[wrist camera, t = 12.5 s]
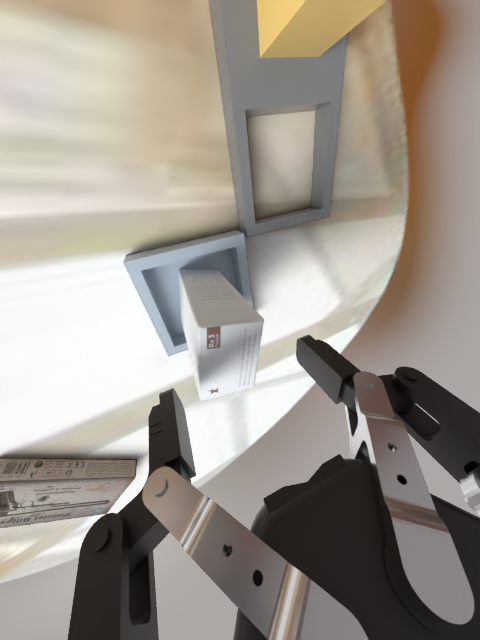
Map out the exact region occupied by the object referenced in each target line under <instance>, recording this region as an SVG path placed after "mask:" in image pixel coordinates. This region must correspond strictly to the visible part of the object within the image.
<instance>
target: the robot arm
mask: <svg viewBox="0 0 480 640" xmlns="http://www.w3.org/2000/svg"><path fill="white" fill-rule="evenodd" d="M296 357H297V360H298V362H299V364H300V365H301V366H302V367H303V368H304V369H305V370H306V371H307V373H308V374H309V375H310V376H311V377H312V378H313V379H314V380H315V381H316V383H317V384H318V385H319V386H320V387H321V388H322V389H323V390H324V391H325V393H326V394H327V395H328V396H329V397H330V398H331V399H332V400H333V401H334V402H335V403H336V404H338V403H340V402H342V401H343V403H344V404H345V410H346V417H347V424H348V431H349V437H350V448H349V449H350V450H349V453H350V459H343V458H342V456H341V455H340V454H339V455H337V456H335V457H334V458H332V459H330V460H329V461H327V462H325V463H323V464H322V465H321V466H320V468H319V469H318V470H317V471H316V472H315V474H314V475H313V476H312V477H311V478H310V480H309V481H308V482H305V483H300V484H296V485H291V486H285V487H282V488H281V489H279V490H277V491H276V492H274V493H272V494H271V495H269V496H267V497H265V498H264V506H263V507H262V508H261V509H260V511H259V512H258V514H257V515H256V517H255V519H254V521H253V524H252V527H251V530H248V529H247V528H246V527H245V526H243V525H242V524H241V523H240V522H238V521H237V520H236V519H235V518H233V517H232V516H231V515H230V514H229V513H227V512H226V511H225V510H224V509H223V508H221V507H220V506H219V505H218V504H217V503H215V502H214V501H213V500H211V499H210V498H208V497H206V496H205V495H203V494H202V493H201V492H200V491H199V490H197V489H196V488H195V487H194V486H193V485H191V480H190V478H192V477H194V476H196V473H195V467H194V461H193V456H192V450H191V444H190V439H189V433H188V427H187V422H186V416H185V411H184V408H183V405H182V403H181V401H180V399H179V397H178V395H177V393H176V391H175V390H174V388H172V389H170V390H167V391H165V392H162V393H160V395H159V398H160V404H159V405H157V406H154V407H152V410H151V413H150V415H149V474H148V478H147V481H146V483H145V485H144V487H143V489H142V490H141V491H140V493H139V494H138V495H137V496H136V497H135V498H134V499H133V500H132V501H131V502H130V503H128V504H127V505H126V506H125V507H124V508H123V509H122V510H121V511H120V512H119V513H117V514H116V513H109V514H106V515H104V516H103V517H101V518H100V519H99V520H97V521H96V522H95V523H94V524H93V526H92V527H91V528H90V530H89V531H88V533H87V535H86V536H85V538H84V541H83V543H82V546H81V550H80V556H79V563H78V571H77V578H76V585H75V592H74V599H73V606H72V614H71V620H70V628H69V634H68V640H159V638H158V623H157V607H156V592H155V576H154V561H153V549H154V548H155V547H156V546H157V545H158V544H159V543H160V542H161V541H162V540H163V539H164V538H165V537H166V535H167V534H168V533H169V532H170V533H171V534H172V535H173V536H174V537H175V538H176V539H177V540H178V541H179V542H180V544H181V545H182V547H183V549H184V550H185V551H186V552H187V553H188V555H189V556H190V557H191V558H192V559H193V560H194V561H195V562H196V563H197V564H198V565H199V566H200V568H201V569H202V570H203V571H204V572H205V573H206V574H207V575H208V576H209V577H210V578H211V579H212V580H213V581H214V583H216V585H217V586H218V587H219V588H220V589H221V590H222V591H223V592H224V593H225V594H226V595H227V596H228V597H229V599H230V600H231V601H232V602H233V603H234V604H235V605H236V606H237V607H238V612H237V619H236V625H235V632H234V639H233V640H480V518H479V517H477V516H475V515H473V514H471V513H469V512H467V511H465V510H463V509H461V508H458V507H457V506H454V505H453V504H451V503H449V502H447V501H444V500H442V499H440V498H438V497H436V496H434V495H432V494H430V493H429V490H428V487H427V485H426V482H425V480H424V476H423V474H422V471H421V468H420V466H419V463H418V460H417V458H416V455H415V452H414V449H413V447H412V444H411V441H410V439H409V436H408V433H409V434H410V435H411V436H412V437H413V438H414V439H415V440H416V441H417V442H418V443H419V444H420V445H421V446H422V447H423V448H424V449H425V450H426V451H427V452H428V453H429V454H430V455H431V456H432V457H433V458H434V459H435V460H436V461H437V462H438V463H440V464H441V465H442V466H443V467H444V468H445V469H446V470H447V471H448V472H449V473H450V474H451V475H452V476H453V477H454V478H455V479H456V480H457V481H458V482H459V483H460V486H461V490H462V492H463V494H464V499H465V501H466V503H467V504H468V505H469V506H470V507H471V508H472V509H474V510H476V511H477V513H478V514H479V516H480V413H479V412H477V411H476V410H475V409H473V408H472V407H470V406H469V405H467V404H466V403H464V402H463V401H462V400H460V399H459V398H457V397H456V396H454V395H453V394H451V393H450V392H449V391H447V390H446V389H444V388H443V387H442V386H440V385H439V384H437V383H436V382H434V381H433V380H432V379H430V378H429V377H427V376H426V375H424V374H423V373H422V372H420V371H418V370H416V369H414V368H410V367H399V368H397V369H396V371H395V373H394V374H392V375H382V376H377V375H375V374H373V373H370V372H366V371H360V370H359V369H357V368H356V367H355V366H354V365H353V364H351V363H350V362H349V361H348V360H347V359H345V358H344V357H343V356H342V355H341V354H339V353H338V352H337V351H336V350H335V349H333V348H332V347H331V346H330V345H329V344H327V343H326V342H323V341H321V340H315V339H314V338H312V337H311V336H310V335H306V336H304V337H301V338H299V339H297V350H296ZM416 403H417V404H418V405H419V406H420V407H421V408H423V409H424V410H425V411H426V412H427V413H429V414H430V415H431V416H432V417H434V418H435V419H436V420H437V421H438V423H439V424H440V425H439V424H438V423H437V422H436V421H434V420H433V419H432V418H431V417H430V416H429V415H427V414H426V413H425V412H424V411H423V410H422V409H420V408H419V407H418V406H417V405H416ZM407 432H408V433H407Z"/></svg>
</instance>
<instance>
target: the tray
mask: <svg viewBox="0 0 480 640" xmlns="http://www.w3.org/2000/svg"><path fill="white" fill-rule="evenodd" d="M123 263H124V265H125V267H126V269H127V271H128V273H129V275H130V277H131V279H132V281H133V284H134V286H135V288H136V290H137V292H138V294H139V296H140V298H141V300H142V302H143V304H144V306H145V308H146V311H147V313H148V315H149V317H150V319H151V321H152V323H153V325H154V327H155V329H156V331H157V333H158V336H159V338H160V340H161V342H162V344H163V346H164V348H165V350H166V352H167V354H168V356H171V355H174V354H177V353H180V352H182V351H185V350H188V346H187V342H186V337H185V333H184V329H183V324H182V320H181V306H180V291H179V274H178V271H179V270H180V269H217V270H218V271H219V272H220V273H221V274H222V275H223V276H224V277H225V278H226V279H227V280H228V281H229V283H230V284H231V285H232V286H233V287H234V288H235V289H236V290H237V291H238V292H239V293H240V294H241V295H242V296H243V297H244V299H245V300H246V301H247V302H248V303H249V304H250V305H251V306H252V307H253V301H252V293H251V285H250V277H249V269H248V261H247V253H246V244H245V236H244V233H241V232H239V231H236V230H234V231H230V232H225V233H221V234H217V235H212V236H208V237H204V238H200V239H195V240H191V241H187V242H182V243H178V244H174V245H169V246H165V247H161V248H157V249H152V250H148V251H144V252H139V253H135V254H131V255H127V256H126V257H125V260H124V262H123Z"/></svg>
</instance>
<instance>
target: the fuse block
mask: <svg viewBox="0 0 480 640" xmlns="http://www.w3.org/2000/svg"><path fill="white" fill-rule="evenodd" d="M386 1H387V0H209V6H210V13H211V21H212V28H213V35H214V43H215V50H216V58H217V65H218V73H219V80H220V88H221V95H222V102H223V110H224V117H225V125H226V132H227V140H228V147H229V155H230V162H231V169H232V177H233V184H234V192H235V199H236V207H237V214H238V221H239V229H240V232H241V233H244V236H246V237H250V236H254V235H258V234H262V233H266V232H270V231H274V230H278V229H282V228H286V227H291V226H295V225H299V224H303V223H307V222H311V221H315V220H319V219H323V218H327V217H330V207H331V197H332V187H333V177H334V167H335V157H336V146H337V136H338V126H339V116H340V106H341V96H342V85H343V75H344V65H345V55H346V45H347V35H348V32H349V31H351V30H352V29H353V28H354V27H355V26H357V25H358V24H359V23H360V22H361V21H363V20H364V19H365V18H366V17H368V16H369V15H370V14H371V13H372V12H374V11H375V10H376V9H377V8H378V7H380V6H381V5H382V4H383V3H384V2H386ZM314 110H316V116H315V136H314V156H313V176H312V196H311V208H308V209H303V210H299V211H295V212H290V213H286V214H281V215H277V216H272V217H268V218H264V219H259V220H255V213H254V202H253V191H252V180H251V169H250V158H249V147H248V136H247V125H246V117H251V116H262V115H272V114H283V113H293V112H304V111H314Z"/></svg>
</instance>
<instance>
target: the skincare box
mask: <svg viewBox="0 0 480 640" xmlns="http://www.w3.org/2000/svg"><path fill="white" fill-rule="evenodd" d="M178 274H179V291H180V306H181V320H182V324H183V329H184V333H185V337H186V342H187V346H188V350H189V355H190V359H191V363H192V368H193V372H194V377H195V381H196V386H197V390H198V394H199V398H200V400H202V401H203V400H208V399H212V398H216V397H220V396H223V395H227V394H231V393H234V392H238V391H242V390H245V389H248V388H251V387H253V386H254V384H255V377H256V370H257V363H258V355H259V349H260V342H261V335H262V329H263V323H264V319H263V318H262V317H261V316H260V315H259V314H258V312H257V311H256V310H255V309H254V308H253V307H252V306H251V305H250V304H249V303H248V302H247V301H246V300H245V299H244V297H243V296H242V295H241V294H240V293H239V292H238V291H237V290H236V289H235V288H234V287H233V286H232V285H231V284H230V283H229V281H228V280H227V279H226V278H225V277H224V276H223V275H222V274H221V273H220V272H219V271H218V270H217V269H180V270H179V271H178Z"/></svg>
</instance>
